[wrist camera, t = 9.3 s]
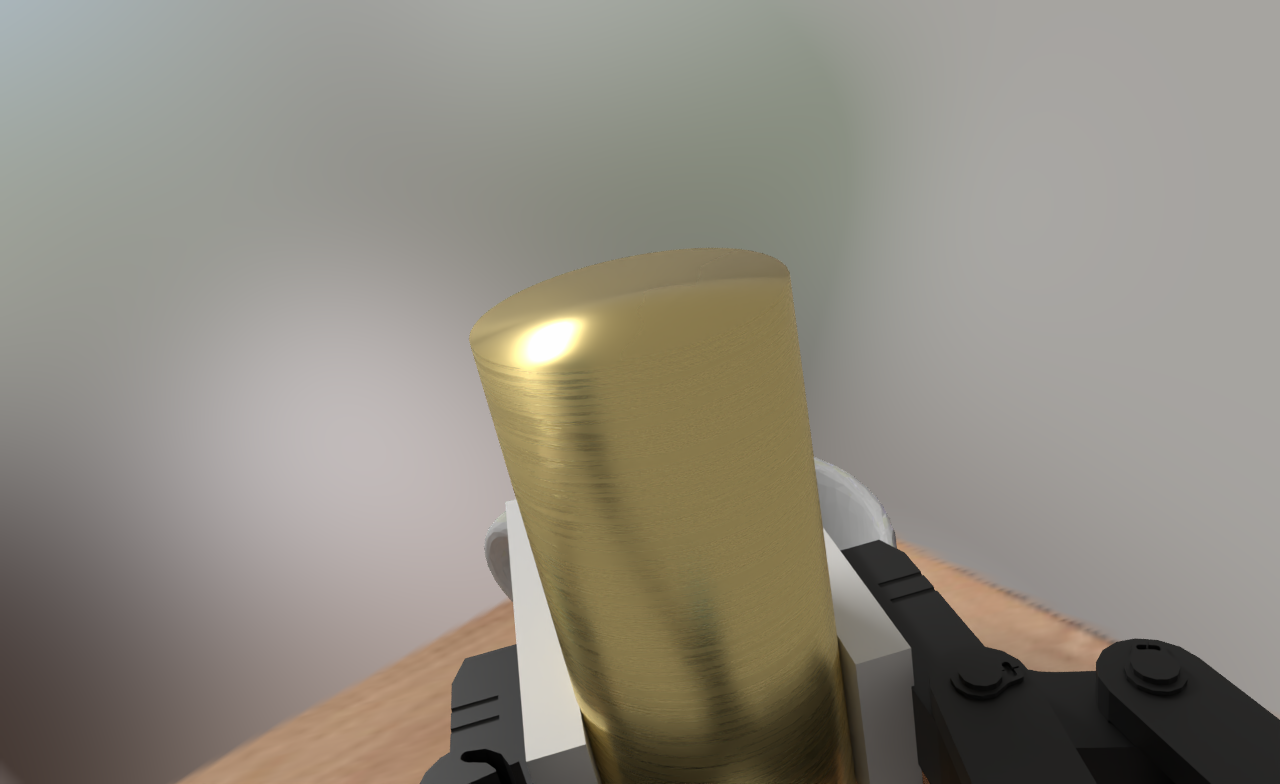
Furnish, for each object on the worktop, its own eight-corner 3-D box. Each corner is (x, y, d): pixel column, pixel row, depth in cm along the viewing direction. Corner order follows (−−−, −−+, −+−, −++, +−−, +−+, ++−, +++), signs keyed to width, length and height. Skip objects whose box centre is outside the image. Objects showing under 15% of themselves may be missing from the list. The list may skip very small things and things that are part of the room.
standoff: (724, 1233, 14) (468, 401, 8) (675, 1005, 17) (468, 294, 11) (934, 1159, 14) (844, 305, 8) (846, 948, 17) (735, 229, 11)
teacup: (973, 702, 28) (964, 489, 24) (780, 989, 21) (733, 748, 18) (654, 572, 37) (617, 406, 34) (451, 741, 30) (380, 554, 27)
